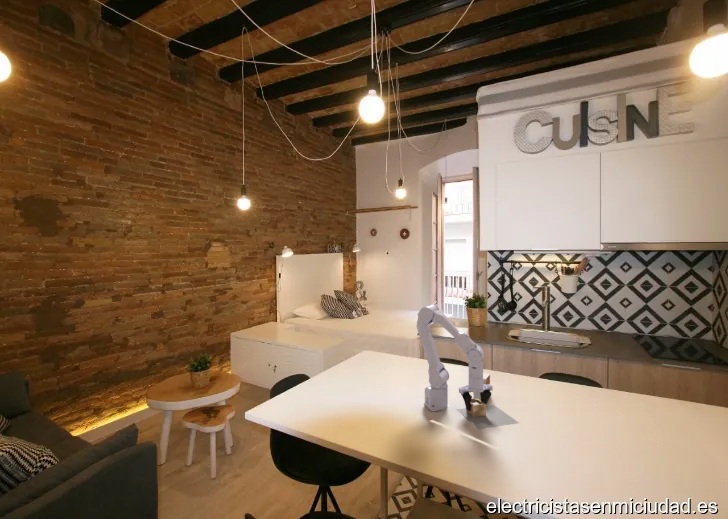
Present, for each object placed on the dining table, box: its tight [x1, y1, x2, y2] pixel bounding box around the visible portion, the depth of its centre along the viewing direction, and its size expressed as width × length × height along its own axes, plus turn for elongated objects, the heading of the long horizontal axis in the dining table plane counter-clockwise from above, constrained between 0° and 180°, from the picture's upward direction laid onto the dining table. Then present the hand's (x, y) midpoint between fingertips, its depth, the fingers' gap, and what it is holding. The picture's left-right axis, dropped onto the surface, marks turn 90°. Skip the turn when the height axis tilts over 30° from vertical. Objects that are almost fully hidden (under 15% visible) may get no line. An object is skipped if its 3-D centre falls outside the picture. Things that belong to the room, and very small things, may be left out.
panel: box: [456, 402, 520, 430], centre depth 134 cm, size 18×16×5 cm
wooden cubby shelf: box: [466, 397, 487, 417], centre depth 136 cm, size 6×6×5 cm
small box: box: [472, 372, 491, 400], centre depth 152 cm, size 8×6×10 cm
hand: (475, 408), depth 136 cm, fingers open, 6 cm apart
